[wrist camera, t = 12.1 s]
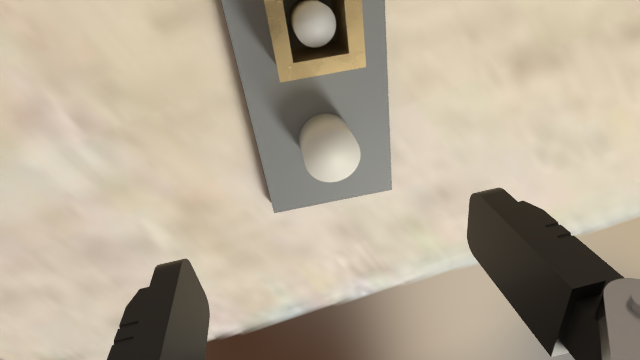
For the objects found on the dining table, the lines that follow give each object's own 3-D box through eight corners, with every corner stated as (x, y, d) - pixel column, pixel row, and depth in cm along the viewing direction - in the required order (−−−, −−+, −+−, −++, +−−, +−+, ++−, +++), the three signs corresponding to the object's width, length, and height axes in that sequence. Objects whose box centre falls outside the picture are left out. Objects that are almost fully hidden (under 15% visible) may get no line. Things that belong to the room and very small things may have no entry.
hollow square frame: (276, 65, 29) (279, 82, 25) (259, -20, 26) (260, -18, 22) (350, 52, 29) (366, 67, 25) (342, -34, 26) (359, -34, 22)
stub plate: (273, 204, 37) (276, 238, 33) (203, -81, 25) (190, -92, 20) (387, 182, 38) (405, 212, 33) (374, -107, 26) (400, -123, 21)
